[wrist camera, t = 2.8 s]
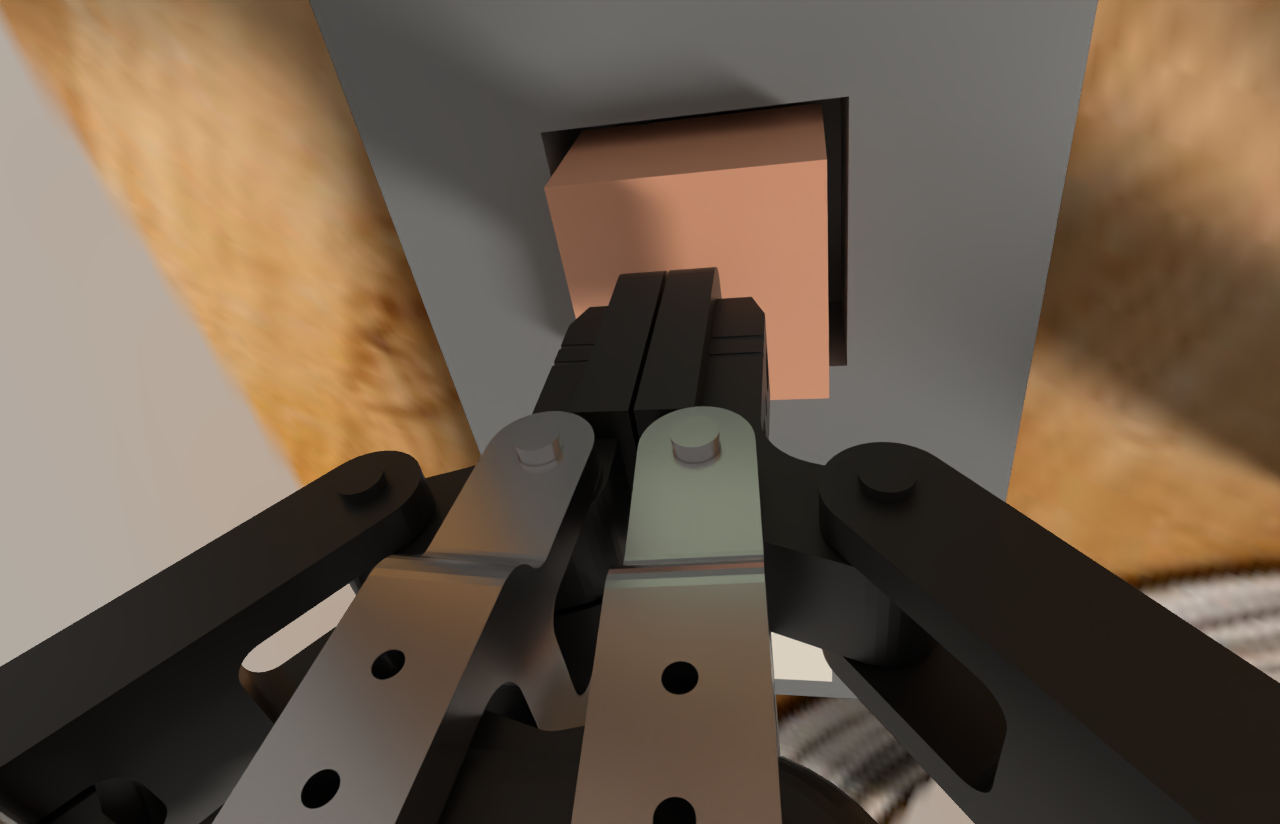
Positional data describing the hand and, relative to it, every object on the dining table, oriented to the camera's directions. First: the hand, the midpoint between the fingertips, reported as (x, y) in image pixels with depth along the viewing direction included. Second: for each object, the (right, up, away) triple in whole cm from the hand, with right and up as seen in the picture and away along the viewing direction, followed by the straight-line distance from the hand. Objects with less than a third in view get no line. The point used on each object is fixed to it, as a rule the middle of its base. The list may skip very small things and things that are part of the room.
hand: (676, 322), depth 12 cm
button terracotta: (+1, +2, +3) cm, 4 cm away
